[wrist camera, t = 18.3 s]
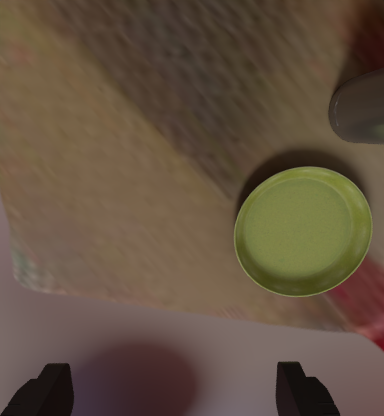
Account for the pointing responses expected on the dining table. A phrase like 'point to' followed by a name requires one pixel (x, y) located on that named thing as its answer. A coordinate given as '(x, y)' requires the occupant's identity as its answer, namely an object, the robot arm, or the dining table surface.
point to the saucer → (303, 231)
